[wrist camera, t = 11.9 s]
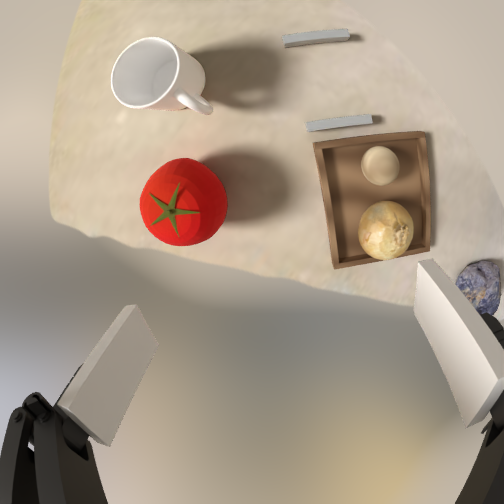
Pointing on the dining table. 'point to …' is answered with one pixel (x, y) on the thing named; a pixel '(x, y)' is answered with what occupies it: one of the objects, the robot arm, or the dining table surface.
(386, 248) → the onion
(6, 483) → the robot arm
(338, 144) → the tray
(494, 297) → the rock
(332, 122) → the cradle
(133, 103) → the cup
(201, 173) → the tomato
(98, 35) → the dining table surface
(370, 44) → the dining table surface
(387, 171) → the ball
